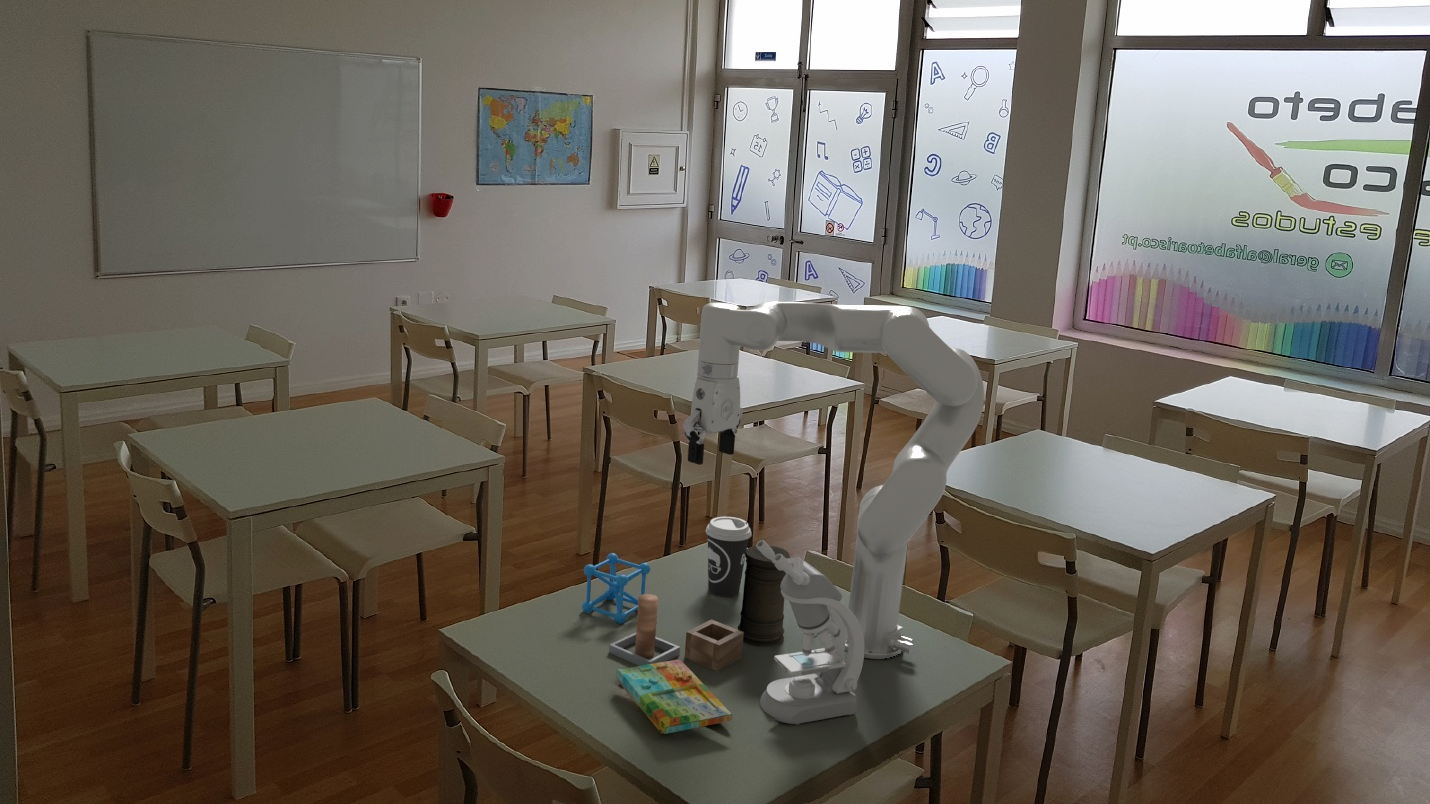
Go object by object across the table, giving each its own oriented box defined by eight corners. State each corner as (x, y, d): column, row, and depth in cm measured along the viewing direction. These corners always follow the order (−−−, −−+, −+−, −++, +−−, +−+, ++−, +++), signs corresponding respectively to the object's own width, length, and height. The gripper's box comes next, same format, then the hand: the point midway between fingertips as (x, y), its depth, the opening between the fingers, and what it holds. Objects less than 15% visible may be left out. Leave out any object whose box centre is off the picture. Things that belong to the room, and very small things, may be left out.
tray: (679, 659, 205) (680, 646, 204) (648, 675, 198) (649, 662, 198) (639, 642, 210) (640, 630, 210) (608, 657, 204) (609, 644, 203)
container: (790, 638, 217) (799, 550, 213) (772, 656, 209) (781, 565, 205) (747, 626, 220) (755, 540, 216) (728, 643, 213) (736, 554, 208)
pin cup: (741, 662, 205) (743, 632, 204) (716, 676, 200) (719, 645, 198) (708, 649, 210) (711, 619, 208) (684, 662, 204) (686, 631, 202)
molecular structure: (621, 626, 216) (624, 578, 214) (579, 612, 221) (581, 564, 219) (649, 609, 225) (653, 562, 222) (608, 596, 229) (611, 550, 227)
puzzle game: (679, 654, 197) (732, 709, 180) (677, 678, 198) (730, 735, 181) (616, 664, 192) (666, 722, 175) (615, 689, 193) (664, 749, 176)
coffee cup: (741, 603, 231) (747, 534, 228) (696, 595, 233) (701, 527, 229) (750, 585, 240) (755, 519, 237) (706, 578, 242) (711, 512, 238)
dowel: (658, 654, 204) (662, 598, 202) (645, 660, 202) (649, 604, 199) (643, 648, 206) (647, 592, 204) (630, 654, 204) (634, 598, 201)
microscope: (735, 702, 191) (750, 535, 184) (830, 686, 199) (848, 526, 192) (765, 734, 182) (782, 560, 175) (864, 716, 190) (883, 549, 183)
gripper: (705, 379, 201) (698, 471, 205) (760, 367, 214) (753, 454, 219) (672, 372, 205) (666, 462, 209) (728, 360, 219) (722, 445, 223)
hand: (710, 457), depth 214 cm, fingers open, 9 cm apart
